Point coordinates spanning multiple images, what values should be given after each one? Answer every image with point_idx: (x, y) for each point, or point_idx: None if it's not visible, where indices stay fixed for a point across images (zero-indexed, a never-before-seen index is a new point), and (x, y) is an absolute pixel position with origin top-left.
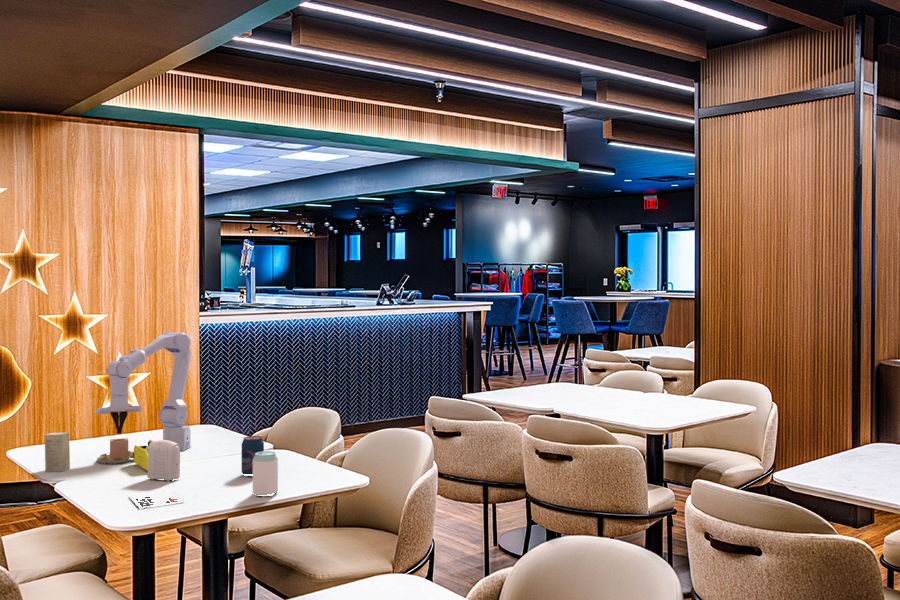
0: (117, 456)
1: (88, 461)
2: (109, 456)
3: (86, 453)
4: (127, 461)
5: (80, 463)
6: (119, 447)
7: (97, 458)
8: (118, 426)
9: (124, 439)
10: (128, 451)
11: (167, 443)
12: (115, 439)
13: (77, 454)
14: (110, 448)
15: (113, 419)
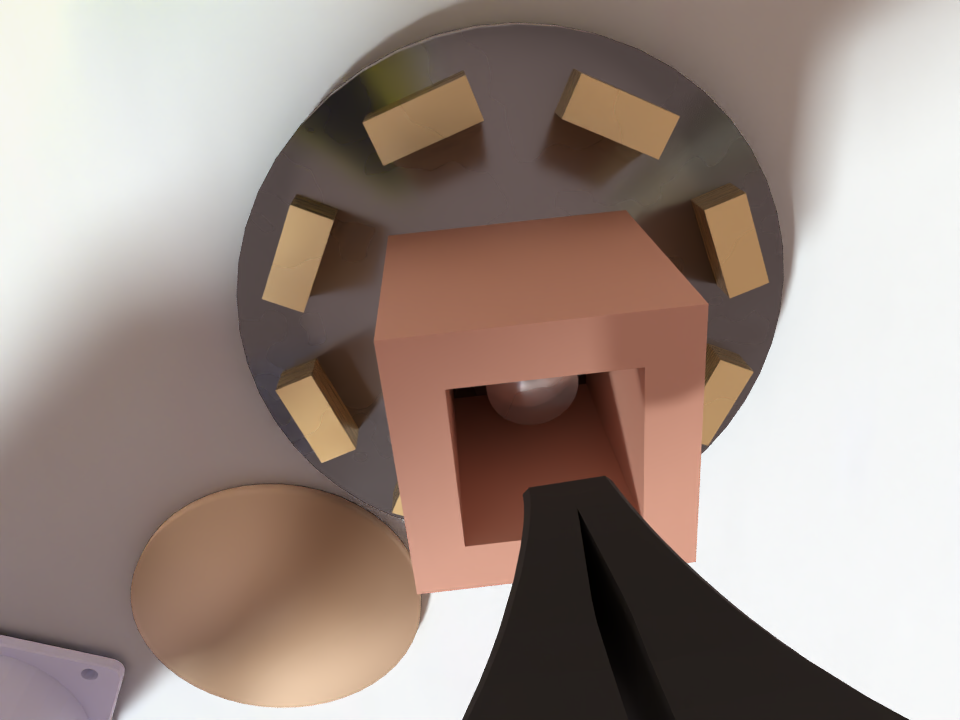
0: (535, 228)
1: (854, 343)
2: None
3: None
4: (381, 60)
5: (954, 254)
6: (523, 278)
7: (775, 325)
8: (625, 575)
9: (465, 538)
10: None
11: None
12: None
13: (901, 691)
14: (665, 261)
15: (890, 713)
